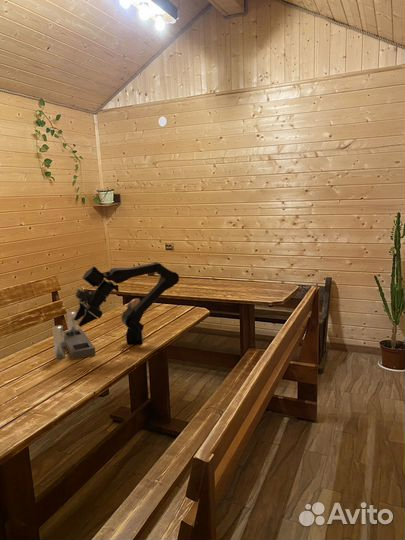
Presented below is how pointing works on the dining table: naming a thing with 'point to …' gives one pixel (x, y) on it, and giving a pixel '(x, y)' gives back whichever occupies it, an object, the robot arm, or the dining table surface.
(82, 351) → the twin nest fixture
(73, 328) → the billet
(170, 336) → the dining table surface
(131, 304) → the tin
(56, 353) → the cylinder
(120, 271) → the robot arm
